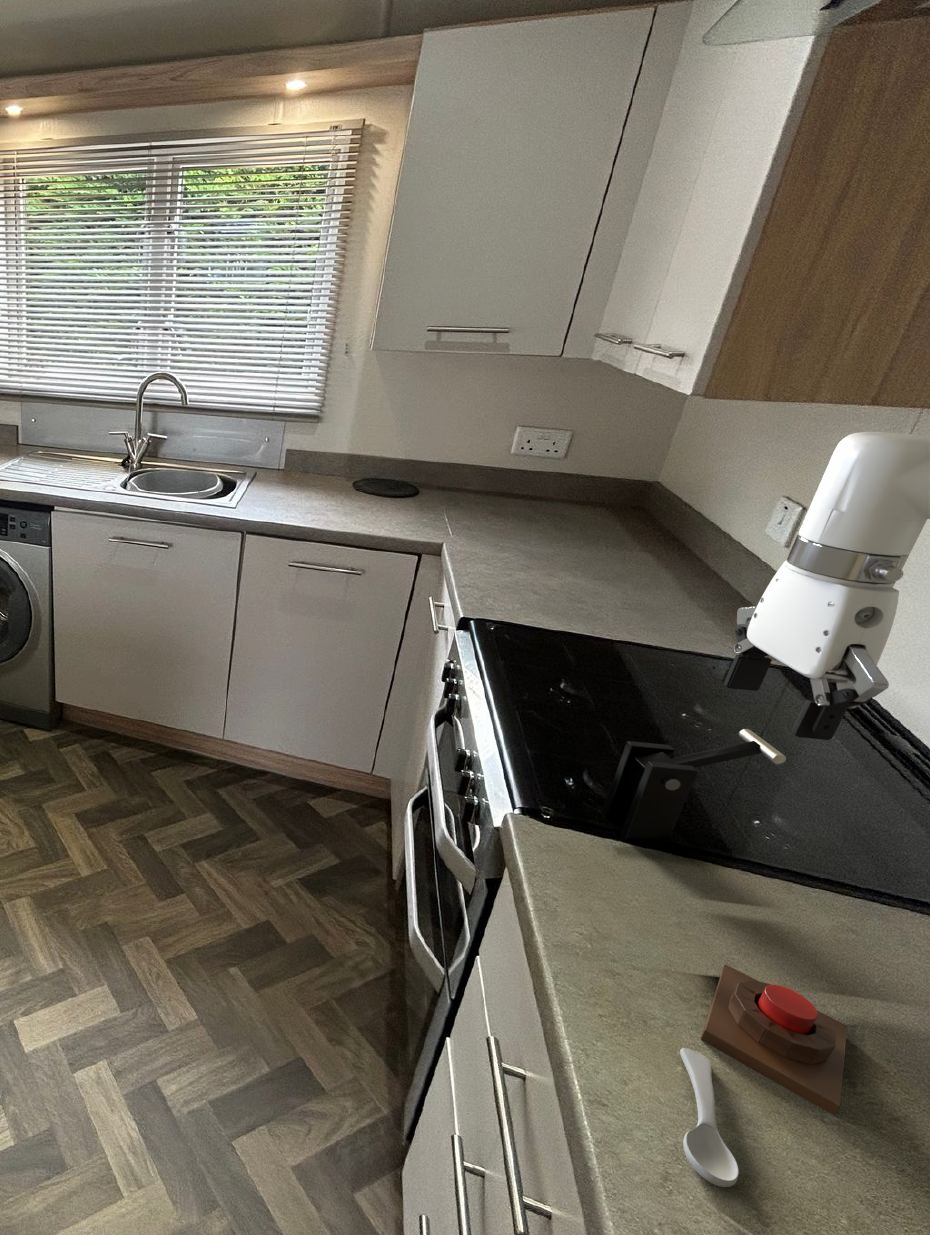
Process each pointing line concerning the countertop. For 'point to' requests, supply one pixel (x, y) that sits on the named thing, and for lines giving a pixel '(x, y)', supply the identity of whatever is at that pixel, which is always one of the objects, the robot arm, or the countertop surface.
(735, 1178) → the spoon
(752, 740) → the switch lever
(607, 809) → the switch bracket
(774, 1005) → the power button
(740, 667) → the robot arm
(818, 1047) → the control block
